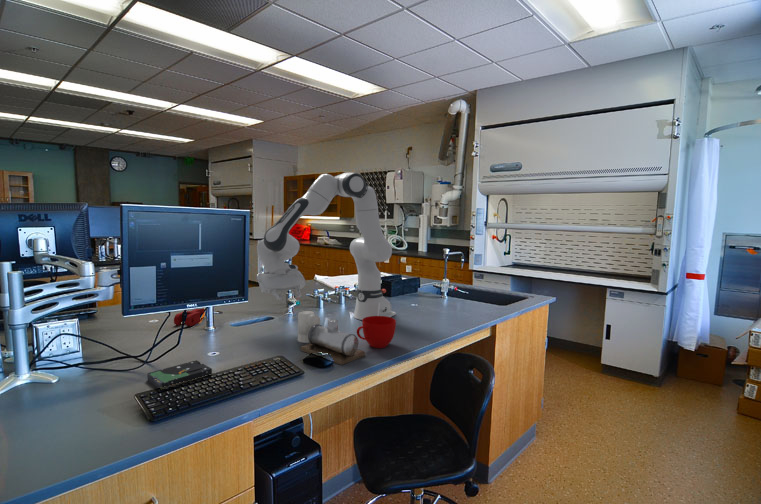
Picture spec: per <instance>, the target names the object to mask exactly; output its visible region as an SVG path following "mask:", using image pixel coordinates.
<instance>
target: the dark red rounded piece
mask: <svg viewBox="0 0 761 504" xmlns="http://www.w3.org/2000/svg"><path fill="white" fill-rule="evenodd" d="M204 310H205V308H202V309H197V308H194V309H192V310H186V311H187V318H186V321H185V323H184V325H185V326H187V327H192V326H195V325H197V324H199V322H200V323H201V320H200V315H201V314H202V313H204ZM183 312H184V311H182V312H179V313H176V314H175V316H174V318H173V323H174V325H175V324H176V325H175V326H181V325H180V324H181V322H182V313H183Z"/></svg>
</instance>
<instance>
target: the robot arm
mask: <svg viewBox="0 0 761 504" xmlns="http://www.w3.org/2000/svg"><path fill="white" fill-rule="evenodd" d="M336 196H338V197H344V198H351V199H352V200H353V204H354V212H355V213H354V215H355V225H356V229H358V230H359V232H360V233H361V236H362V237H357V238H354V239H352V241H351V242H350V245H349V251H350V252H349V253H350V254H351V255H352V257H353V259H354V261H355V265H356V270H357V289H356V299H355V308H354V311H353V317H354V318H355V319H356V320H361V321H362V320H363V318H366V317H370V316H386V317H391V318H393V317H394V316H396V315H397V313H396V312H395V311H393V310H392V304H391V302H390V301H389V300H388V299H386V297H385V296H383V295H384V294H385V293H386V292H387V290H386V288H382V289H381V287H382V285H381V284H382V281H381V279H382V274H381V271H380V270H379V269H378V266H377V264H376V263H382V262H383V263H384V262H387V261H388V260H389V259H391V257H392V254H393V247H392V244H391V243H390V242H389V241H388V240H387V239H386V237H385V235H384V233H383V231H382V227H381V224H380V215H379V207H378V206H379V205H378V198H377V196H376V192H375V189H374V188H373V186H369V185H368V183H367V182H366V180H365V178H364V176H363V175H361V174H360V173H358V172H355V171H354V172H353V171H351V172H349V171H348V172H347V171H346V172H343V173H339V174H337V175H334V176H333V175H332V174H329V173H322V174H320V175H319V176H318V177H317V179H315V180H314V181H313V183H312V184H311V185H310V187H309V188H308V190H307V191H306V193H305V194H303V196H301V197H300V198H297V199H296V200H295V201H294V202H293V203H292V204H291V205H290V206H289V207H288V208H287V210H286V211H284V213H283V214H282V216H281V217H280V218H279V219H278V220H277V221H276V223H274V224H273V225H272V226H270V227H269V228H268V229H267V230H266V232H265V233H264V236H263V239H261V240H260V241H259V242H258V243H257V245H256V253H257V255H258V258H259V260H260V263H261V264H262V265H263V269H264V272H259V273H258V274H256V276H255V278H256V280H257V281H258V285H259V289H260V291H261V293H262V294H271V296H273V297H275V298H276V301H281V300H282V299H283V296H282V294H279V293H278V292H285V291H293V290H295V291H296V293H295V296H296V298H301V297H302V292H301V291H302V290H301V289H303V288H304V287H305V286H306V282H307V281H306V279H305V277H304V275H303V274H302V272H301V271H300V270H298V269H299V266H298V265H296V264H292V263H288V262H285V261H288V260H290V259H292V258H294V257H295V256H296V255H297V254H298V253H299V251H300V248H301V246H300V242H299V240H298V239H296V238H295V236H293V235H291V234H290V231H291V229H292V228H293V227H294V226H295V224H296V223H297V222H298V220H299V219H301V218H302V217H303V216H319V215H321V214H323V213H324V212H325V211H326V210H327V208H328V207H329V205H330V203H331V202H332V200H333V198H335V197H336Z"/></svg>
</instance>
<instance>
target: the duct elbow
mask: <svg viewBox="0 0 761 504" xmlns="http://www.w3.org/2000/svg"><path fill="white" fill-rule="evenodd" d="M297 313H298V314H297V322H298V323H297V342H299V343H303V344H305V343H306V344H309V343H310V342H309V340H308V332H309V330H310V328H311V327H312V326H314V325H316V324H319V325H321V317H320V316H319V315H315V312H314V311H312V310H311V311H310V310H303V311H299V312H297Z"/></svg>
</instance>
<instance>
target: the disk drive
mask: <svg viewBox="0 0 761 504" xmlns="http://www.w3.org/2000/svg"><path fill="white" fill-rule="evenodd" d="M209 374H212V375H213V368H211V367H210V366H208V365H206V364H204V363H201V361H199V360H197V359H196V360H192V361H188V362H185V363H180V364H177V365H173V366H169V367H166V368H162V369H158V370H154V371H150V372H148V373H147V378H146V379H147V381H148V382H149V383H150V384H152V385H153V386H155V388H157V389H158V388H160V387H164V386H169V385H172V384H176V383H179V382H183V381H188V380H192V379H195V378H198V377H202V376H205V375H209Z"/></svg>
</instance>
